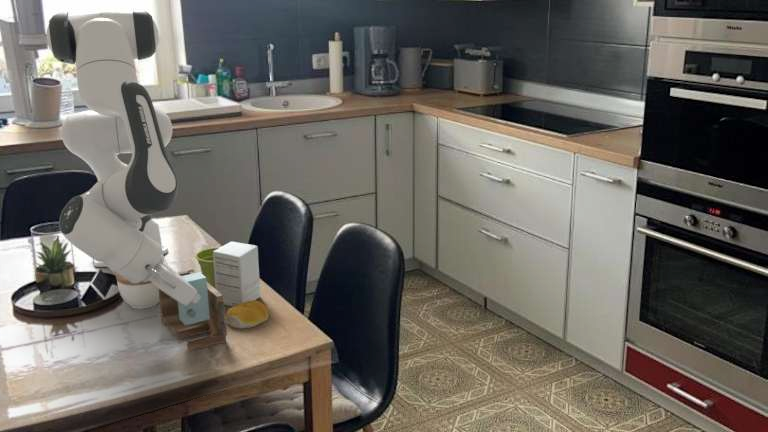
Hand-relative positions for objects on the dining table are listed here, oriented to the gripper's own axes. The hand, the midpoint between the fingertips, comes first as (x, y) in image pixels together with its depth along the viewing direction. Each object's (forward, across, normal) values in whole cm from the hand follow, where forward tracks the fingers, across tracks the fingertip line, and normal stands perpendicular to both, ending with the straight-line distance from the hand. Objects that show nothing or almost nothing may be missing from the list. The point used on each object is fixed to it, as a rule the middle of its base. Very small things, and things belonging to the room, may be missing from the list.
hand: (193, 295), depth 153 cm
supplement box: (+18, +13, -4) cm, 22 cm away
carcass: (+8, +4, +6) cm, 11 cm away
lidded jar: (+5, +24, +9) cm, 26 cm away
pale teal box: (+4, 0, +4) cm, 5 cm away
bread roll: (+16, +3, -1) cm, 17 cm away
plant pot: (+17, +22, -3) cm, 28 cm away
